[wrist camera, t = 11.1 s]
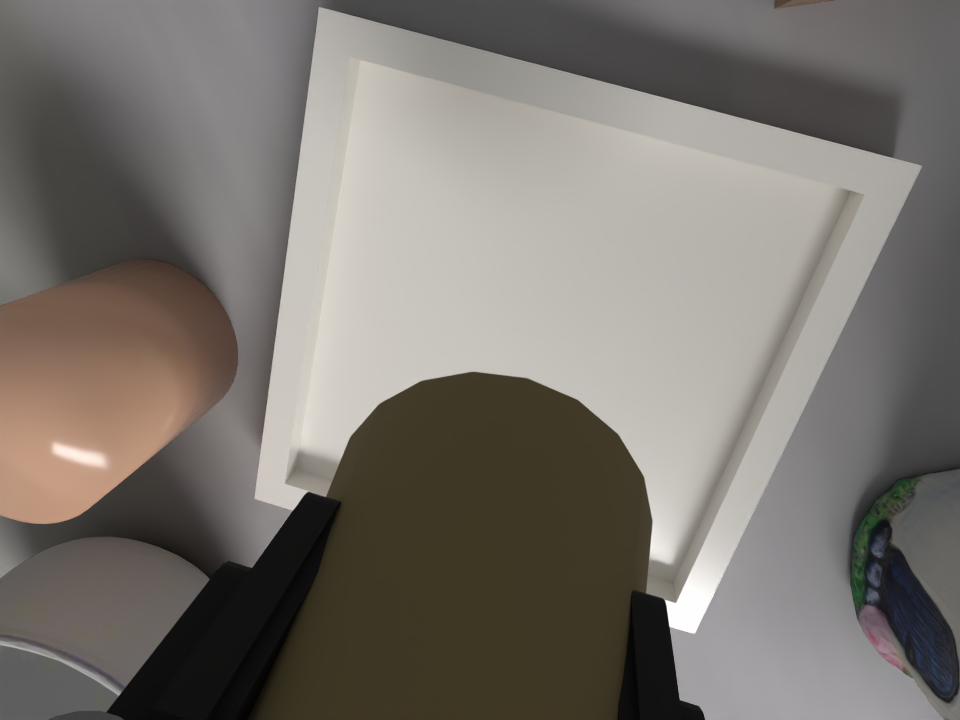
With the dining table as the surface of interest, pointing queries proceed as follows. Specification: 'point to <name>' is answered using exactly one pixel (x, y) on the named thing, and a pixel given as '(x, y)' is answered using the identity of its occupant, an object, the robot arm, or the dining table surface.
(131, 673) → the teacup
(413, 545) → the cork
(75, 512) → the peach rounded cylinder
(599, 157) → the tray
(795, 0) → the walnut block
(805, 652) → the dining table surface
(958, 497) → the decorative ornament
